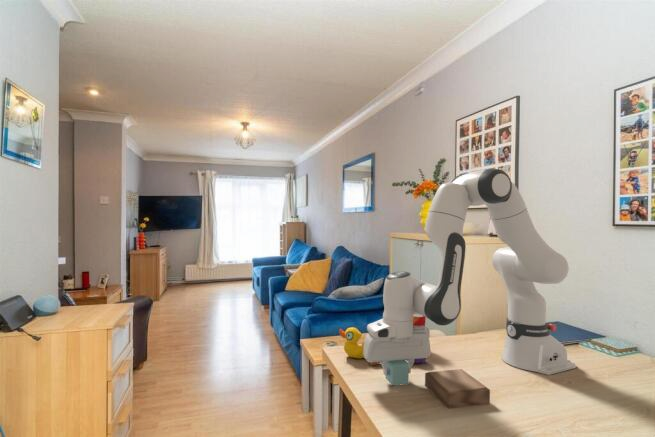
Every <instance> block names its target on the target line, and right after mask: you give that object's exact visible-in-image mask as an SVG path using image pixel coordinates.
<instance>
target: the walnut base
mask: <svg viewBox="0 0 655 437" xmlns="http://www.w3.org/2000/svg"><path fill="white" fill-rule="evenodd" d="M424 375H425V376H424V377H425V378H424V386H425V387H426V388H427V389H428V390H429V391H430V392H431V393H432V394H433V395H434V396H435V397H437V399H438V400H440V402H442V404H444V405H445V406H446V407H447V408H448V409H454V408H462V407H464V408H465V407H473V406H478V405H479V406H480V405H488V404H490V402H491V400H490V399H491V391H490V390H491V389H490V388H488V387H487V386H486V385H484V384H483V383H481V382H480V381H479V380H477V379H476V378H475V377H473V376H472V375H471V374H469V373H467V372H466V371H465V370H463V369H462V368H460V369H459V368H458V369H450V370H449V369H448V370H435V371H428V372H425V373H424Z"/></svg>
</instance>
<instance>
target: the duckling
mask: <svg viewBox="0 0 655 437" xmlns="http://www.w3.org/2000/svg"><path fill="white" fill-rule="evenodd" d="M338 333H339V335H340V337H341V338H343V339H345V340H346V342H345V343H344V345H343V349H344V352H345V354H346V355H348V356H349V357H350V358H352V359H353V358H354V359H363V358H364V359H365V357H364V355H363V350H364V341H365V339H364V340H363V341H362V343H361V345H359V343H358V342H359V341H360V340H361V338H362V336H363V335H362V333H361V331H359V329H358V328H356V327H353V326H352V327H348V328H347V329H346V330H345V331H344V330H343V329H342V328H340V329H339V332H338Z"/></svg>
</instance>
